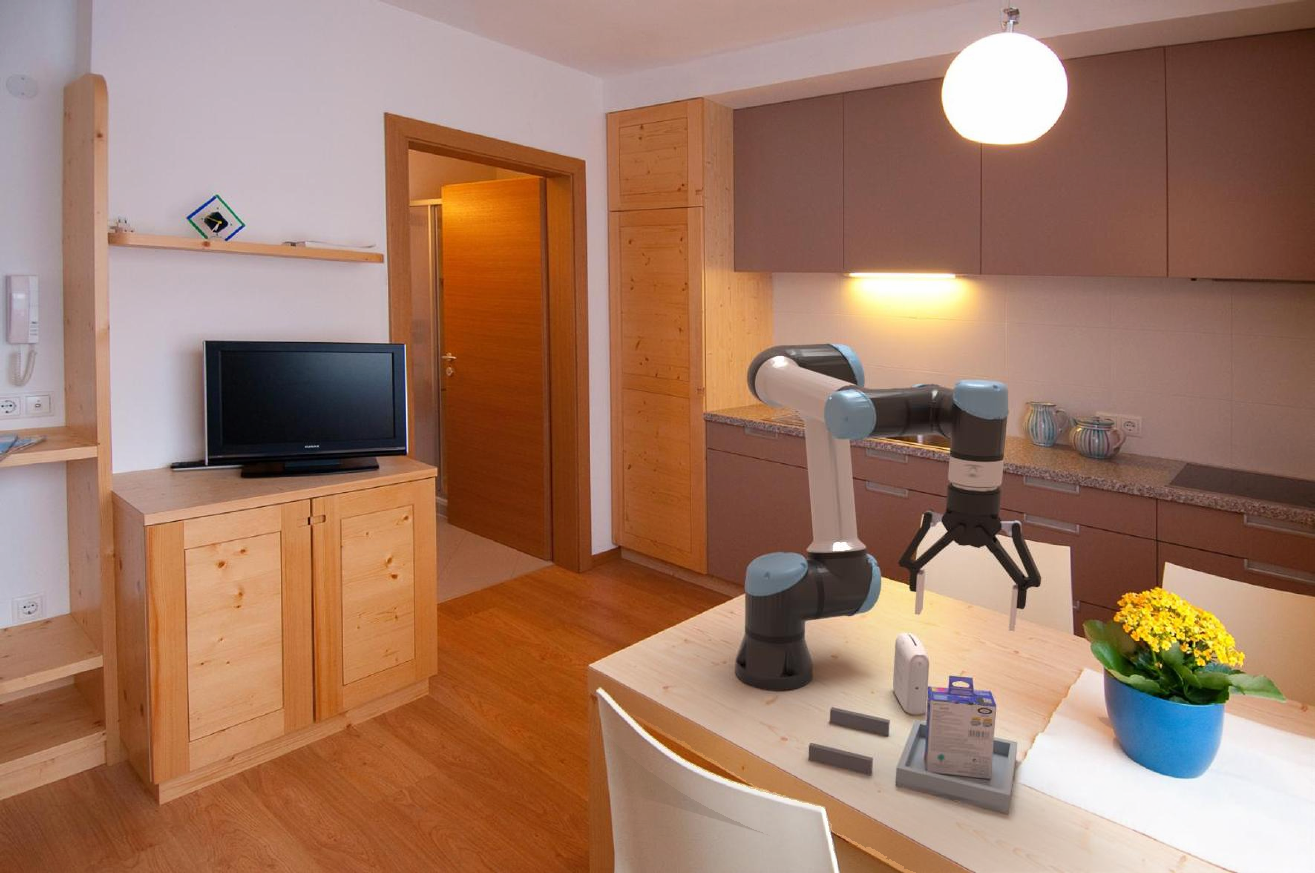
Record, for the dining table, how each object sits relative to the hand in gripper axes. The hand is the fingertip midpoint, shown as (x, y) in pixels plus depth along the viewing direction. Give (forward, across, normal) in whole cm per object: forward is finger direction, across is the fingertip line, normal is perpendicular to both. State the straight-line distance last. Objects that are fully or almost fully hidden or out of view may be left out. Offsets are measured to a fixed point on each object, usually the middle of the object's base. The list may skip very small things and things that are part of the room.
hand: (964, 619), depth 130 cm
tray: (+25, +1, -1) cm, 25 cm away
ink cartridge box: (+24, +1, -1) cm, 24 cm away
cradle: (+25, -16, -1) cm, 30 cm away
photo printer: (+25, -10, +19) cm, 33 cm away
